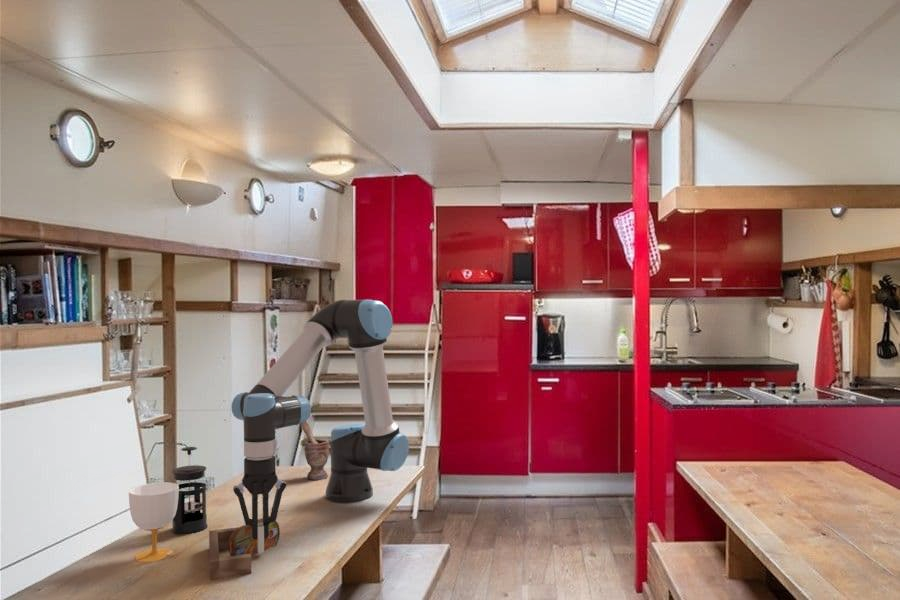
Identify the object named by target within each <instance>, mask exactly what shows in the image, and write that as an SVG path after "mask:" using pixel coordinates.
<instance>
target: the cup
mask: <svg viewBox="0 0 900 600" xmlns="http://www.w3.org/2000/svg"><path fill="white" fill-rule="evenodd" d="M178 485H179V484H178V483H174V482H166V481H165V482H163V481H162V482H160V481H159V482H149V483H146V484H140V485H137V486H134V487H132V488H131V489H129V490H128V502H129V511H130V516H131V519H132V522H133V523H134V524H135V526H136V527H137V528H138V529H140V530H145V531H148V532H151V537H152V538H151V539H152V546H151V549H147V550H144V551H142V552H140V553H139V552H138V553H137V555H136V556H135V558H134V560H135V561H137V562H139V563H149V562H150V563H151V562H155V561H159V560H162V559H164V558H167V557H166V555H167V552H169V551H170V550H172V549H171V548H166V547H162V548H161V547H159V548H158V545H157V540H158V539H157V537H158V531H159V530H161V529H164V528H165V527H167V526H169V524H171V522H173V518H174V517H175V515H176V511H177V506H178V496H179V491H180V489H179V486H178ZM172 551H173V552H174V550H172Z"/></svg>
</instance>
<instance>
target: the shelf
mask: <svg viewBox="0 0 900 600" xmlns="http://www.w3.org/2000/svg"><path fill="white" fill-rule="evenodd" d="M238 527H239V526H238ZM238 527H230V528H221V529H213V530H209V531H208V533H209V535H208V539H209V540H208V543H209V544H208V551H209V555H208V556H209V580H210V581H213V580H214V581H215V580H221V579H225V578H232V577H238V576H244V575H250V574H251V575H252V556H251V554H244V555H237V556H231V555H229V556H223V557H220V552H219V551H220V550H224V549H225V550H226V549H229V539H230V536H231V534H232V533H233V532H234V530H235V529H237V528H238ZM219 549H220V550H219Z"/></svg>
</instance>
